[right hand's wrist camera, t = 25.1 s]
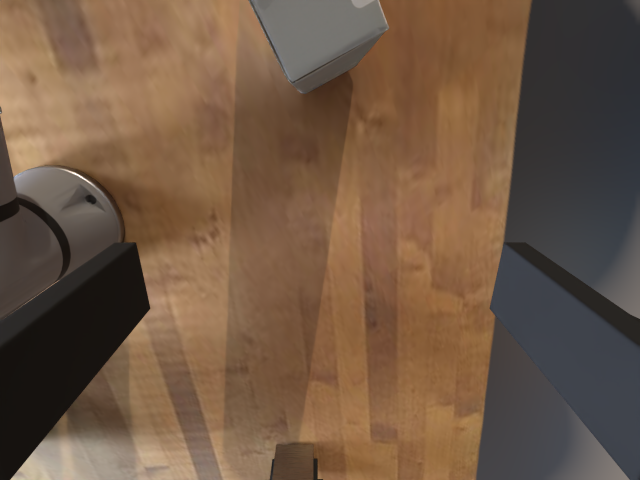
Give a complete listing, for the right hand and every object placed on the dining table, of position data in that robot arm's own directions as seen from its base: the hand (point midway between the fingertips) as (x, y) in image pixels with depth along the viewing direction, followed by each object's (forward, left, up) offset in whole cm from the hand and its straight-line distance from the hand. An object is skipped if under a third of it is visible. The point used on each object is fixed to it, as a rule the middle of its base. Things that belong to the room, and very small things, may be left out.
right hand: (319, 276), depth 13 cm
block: (+8, -57, -34) cm, 67 cm away
